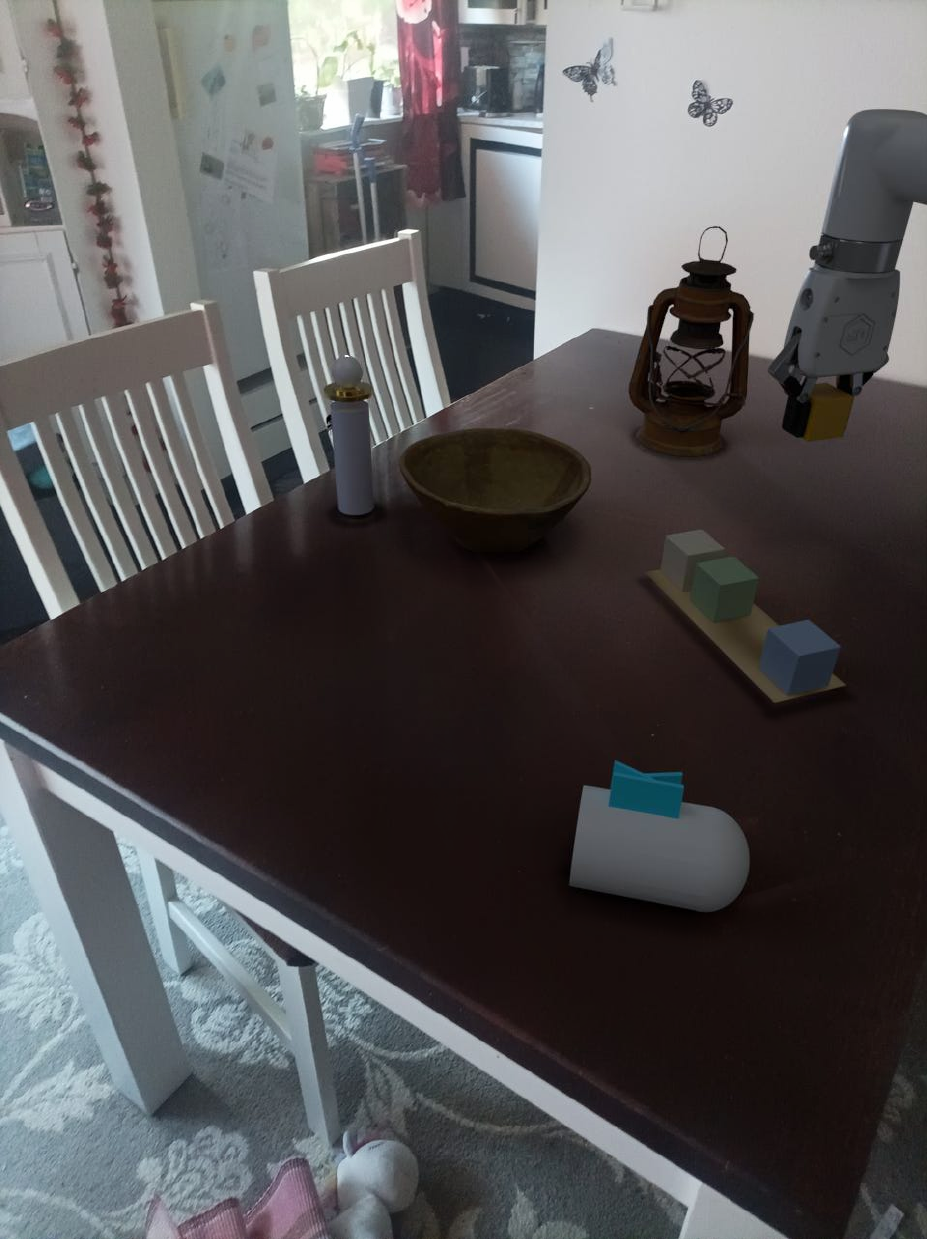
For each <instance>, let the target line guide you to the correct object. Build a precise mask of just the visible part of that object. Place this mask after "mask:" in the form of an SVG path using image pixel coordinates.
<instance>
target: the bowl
mask: <svg viewBox="0 0 927 1239" xmlns="http://www.w3.org/2000/svg"><path fill="white" fill-rule="evenodd" d="M398 467H399V472H400V473H401V475H402V477H403V478H404V481H405V482H406V484H407V486H408V487H409V489H410V490H411V492H412V493H413V494H414V496H415V497H416V498H417V500H418V501H419V503H420V504H421V505H422V507H423V508H424V509H425V510H426V511H427V513H428V514H429V515H430V516H431V517H432V518H433V520H434V521H435V522H436V524H438V525H439V526H440V527H441V528H442V529H443V530H444V531H445V532H447V533H448V534H449V535H450V536H451V537H452V539H454V540H455V542H457V543H458V544H459V545H460V546H461V547H462V548H464V549H465V550H467V551H470V552H473V553H476V554H481V555H483V553H491V554H492V553H493V554H515V553H520V552H522V551H525V550H527V549H528V548H529V547H531V546H533V545H534V544H536V543H537V542H538V541H539V540H540V539H541V538H543V537H544V536H545V535H547V534H548V533H549V532H551V531H552V530H554V528H556V527H557V525H558V524H559V523H560V522H561V521H562V520H563V519H565V517H566V516H568V514H569V513H571V511H572V510H573V509H574V508H575V506H576V505H577V504H578V503H579V502H580V501H581V499H582V498H583V497H584V495H585V494H586V493H587V491H588V490H589V488H590V485H591V482H592V468H591V465H590V463H589V462H588V461H587V459H586V458H585V456H584V455H583V454H582V453H581V452H580V451H578V450H577V449H575V448H574V447H573V446H571V445H569V444H567V443H565V442H562V441H560V440H557V439H554V438H552V437H549V436H546V435H544V434H542V433H539V432H535V431H532V430H524V429H518V428H488V427H485V428H484V427H483V428H482V427H481V428H480V427H478V428H467V429H460V430H454V431H452V432H451V431H450V432H445V433H444V432H443V433H440V434H439V433H438V434H435V435H431V436H428V437H426V438H422V439H419V440H417V441H416V442H414V443H412V444H411V445H409V446H408V447H407V448H406V449H404V451H403V452H402V453H401V455H400V456H399V459H398ZM482 552H483V553H482Z"/></svg>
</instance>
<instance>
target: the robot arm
mask: <svg viewBox="0 0 927 1239" xmlns="http://www.w3.org/2000/svg"><path fill="white" fill-rule="evenodd" d="M843 131H844V132H843V134H842V138H841V142H840V147H839V152H838V155H837V160H836V165H835V170H834V174H833V179H832V183H831V188H830V192H829V197H828V201H827V204H826V210H825V214H824V217H823V219H824V220H823V222H822V227H821V232H820V236H819V240H818V244H815V245H812V246H811V247H810V249H809V253H808V254H809V259H810V260H811V261H814V262H813V267H808V270H807V272H806V274H805V276H804V279H803V281H802V284H801V286H800V289H799V291H798V295H797V297H796V300H795V303H794V305H793V309H792V311H791V316H790V320H789V323H788V326H787V330H786V333H785V339H784V343H783V348H782V349H781V351H780V352H779V353H778V355H777V356H776V357H775V358H774V360H773V361H772V362H771V363H770V365H769V366H768V367H767V373H768V374H769V375H770V376H771V377H772V378H773V379H774V380H775V381H776V382H777V383H778V384H779V385H780V386H781V388H782V389H783V393H784V394H785V395H786V396H787V399H786V400H787V401H786V405H785V409H784V413H783V417H782V423H781V429H782V430H783V431H785V432H787V433H789V434H790V435H792V436H793V437H795V438H796V439H802V438H801V437H803V436H804V434H805V430H806V426H807V422H808V418H809V414H810V410H811V404H812V403H811V402H809V401H807V400H808V399H809V396H810V394H811V392H812V390H813V388H814V385H815V384H817V381H818V378H819V379H820V378H828V377H829V378H830V377H836V378H835V387H836V388H838V389H840V390H842V391H844V392H846V393H848V394H850V395H852V396H854V398H853V402H852V406H851V409H850V413H849V417H848V420H847V424H846V428H845V431H846V429H847V425H848V421H849V418H850V414H851V411H852V408H853V404H854V401H855V397H858V396H860V394H861V393H862V391H863V387H864V386H865V385H866V384H867V383H868V382H869V381H870V380H871V379H872V378H873V376H875V375H874V374H876V373H877V372H879V371H880V370H881V369H882V368H884V366H886V365H887V364H888V363H889V361H890V356H889V353H888V352H889V348H890V344H891V341H892V336H893V332H894V327H895V323H896V318H897V317H896V316H897V313H898V312H897V311H898V306H899V298H900V288H901V271H900V270H899V269H896V267H897V264H898V260H899V256H900V253H901V250H902V246H903V242H904V238H905V235H906V231H907V227H908V224H909V220H910V216H911V213H912V209H913V205H914V203H918V204H921V205H925V206H927V113H924V112H922V111H916V110H910V109H894V108H893V109H892V108H871V109H864V110H861V111H857V112H856V113H854V114H853V115H852V116H851V117H850V118H849V119H848V121H847V123H846V125H845V127H844V130H843ZM791 367H793V368H792V370H791V372H790V368H791ZM803 376H804V379H803ZM802 379H803V380H802ZM801 381H802V383H801Z"/></svg>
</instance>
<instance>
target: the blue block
mask: <svg viewBox="0 0 927 1239" xmlns="http://www.w3.org/2000/svg"><path fill="white" fill-rule="evenodd" d="M841 648H842V646H841V645H840V644H839V643H837V642H836V641H835V640H834V639H833V638H831V636H829V635H828V634H827V633H825V632H824V631H823V630H822V629H821V628H820V627H818V626H817V625H816V624H815V623H813V621H811V620H810V619H805V620H800V621H795V622H791V623H786V624H782V625H779V626H777V627H772V628H768V631H767V635H766V639H765V643H764V646H763V650H762V654H761V658H760V662H759V666H758V667H759V668H760V669H761V670H762V671H763V672H764V673H765V674H766V675H767V676H768V677H769V678H770V679H771V680H772V681H773V682H774V683H775V684H776V685H777V686H778V687H779V688H780V689H781V690H782V691H783V692H784V693H785V694H786V695H787V696H789V695H793V694H797V693H801V692H805V691H809V690H813V689H818V688H822V687H826V686H828V685H829V682H830V679H831V676H832V673H833V674H834V670H835V666H836V664H837V661H838V658H839V654H840V651H841Z"/></svg>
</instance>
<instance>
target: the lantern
mask: <svg viewBox="0 0 927 1239" xmlns="http://www.w3.org/2000/svg"><path fill="white" fill-rule="evenodd" d="M710 229H719V230H720V231H722V232H723V233H724V234H725V235H724V236H725V245H724V249H723V251H722V253H721V257H720V258H719V259H718V260H717V259H715V260H714V259H704V258H703V257H702V256H701V253H700V252H701V244H702V239H703V236H704V235H705V232H707V231H709V230H710ZM728 238H729V237H728V233H727V230H725V229H724V228H722V227H721V226H720V225H719V226H718V225H714V226H708V227H707V228H705V229H704V230H703V232H702V234H701V236H700V237H699V245H698V250H697V251H698V252H697V256H698V260H692V261H689V262H685V263H683V264H682V265H681V268H682V270H683V271H684V272H686V273H687V274H689V275H688V276H684V277H682V278H680V279H679V284H678V286H676V287H668V288H664V289H663V290H662V291H660V292H659V293H657V295H656V296H655V298H654V300H653V302H652V304H650V305H649V306H648V307H647V312H646V314H647V315H646V325H645V330H644V332H643V336H642V340H641V342H640V345H639V348H638V353H637V356H636V359H635V364H634V368H633V371H632V374H631V378H630V380H629V384H628V395H629V400H630V401H631V403H632V405H633V406H634V407H635V408H636V409H638V410H639V411H640V412H641V413H643V421H642V425H641V426H640V427H639V428H638V429H637V430H636V433H635V437H636V440H637V441H638V443H639V444H640V445H642V446H644V447H645V448H647V449H649V450H652V451H653V452H655V453H661V454H664V455H668V456H669V455H670V456H677V457H687V458H689V457H700V456H701V457H702V456H709V455H710V454H711V455H712V454H715V453H717V452H719V451H720V450H721V449H722V448H723V446H724V441H723V437H722V435H721V428H722V423H723V420H726V419H728V418H731V417H733V416H735V415H736V414H737V413H739V412H740V411H741V410H742V408H743V406H746V399H747V396H748V382H749V379H748V378H749V360H750V359H749V358H750V335H751V329H752V327H753V323H754V319H755V313H754V312H753V311H751V305H750V303H749V300H748V299H747V298H746V296H745V294H743V293H740V292H737V291H733V290H732V283H731V282H730V281H728V280H727V277H728V276H731V275H734V274H737V270H738V269H737V268H736V267H735V266H733V265H731V264H729V263H726V262H722V260H723V259H724V256H725V252H726V250H727V246H728V242H729V239H728ZM730 310H732V314H731V312H730ZM668 312H669V314H670V315H671V316H672V317H674V318H677V319H678V325H677V328H676V330H674V331H673V332H672V333H671V335H670V337H669V341H670V342H671V343H672V344H673V345H676V346H678V347H682V348H686V349H687V348H688V349H694V350H701V351H698V352H697V353H695V354H691V353H690V352H687V351H686V350H683V349H680V348H678V347H676V346H671V345H666V346H664V348H663V349H662V352H663V354H661V353H660V352H658V351H657V348H658V345H659V342H660V338H661V335H662V330H663V327H664V323H665V321H666V316H667V314H668ZM731 318H732V324H731V325H732V326H731V327H732V328H731V357H730V359H731V361H730V370H729V374H728V379H727V383H726V388H725V390H724V394H722V396H721V397H720V398H719V400H718V401H717V402H716V403H715V402H706V401H707V400H709V399H711V398H713V397H715V395H716V390H715V388H714V387H715V384H714V383H713V380H712V378H711V377H708V380H709V384H710V385H707V384H705V383H703V382H702V381H701V380H700V379H697V377H699V376H701V374H703V373H705V374H706V375H707V374H708V375H707V376H709V371H711V370H712V369H713V368H715V367H717V366H718V365H720V364H722V362H723V361H724V359H725V357H726V353H727V351H726V350H725V349H724V348H723V347H722V346H723V345H724V337H723V334H721V333H720V331H721V323H724V322H728V321H729V320H730V319H731ZM666 351H673V352H679V353H680V354H682V355H685V356H686V357H687V359H686V360H685V361H684V362H682V363H681V364H680V365H679V366H677V363H675V362H674V360H673V359H672V358H671V357H670V356H669V355H668V353H667V352H666ZM706 354H712V355H716V354H717V355H720V354H722V355H721V357H720V358H719V360H717V361H716V362H714V363H712V364H708V365H706V366H705V365H704V364H703V362H702V361H701V360H699V359H698V357H700V356H702V355H706ZM663 355H664V356H665V358H666V359H667V360H668V361H669V362H670V363H671V364H672V365H673V366H674V367H675V368H676V369H674V370H673V372H672V373H671V374H670V375H669V377H668V378H667V379H666V382H665V383H664V382H663V378H662V377H663V375H662V370H661V366H662V365H661V364H662V362H661V361H662V357H663ZM691 360H694V361H695V362H696V364H698V365H699V367H700V368H701V369H699V370H697V371H696V372H695V373H693V374H690V373H688V372H687V371H686V370H685V369H684V368H683V367H684V366H685V365H686V364H688V362H690V361H691ZM655 363H656V366H655ZM678 370H679V372H681V373H682V374H683V375H684V376H685V378H687V379H688V380H687V379H686V380H671V381H670V379H671V378H672V377H673V376H674V374H676V372H677V371H678ZM691 379H693V380H694V381H692V380H691ZM690 380H691V381H690ZM658 384H659V385H658ZM662 391H663V392H664V393H665V394H666V395H667V396H666V395H664V394H662V393H663V392H662ZM726 397H728V398H727V400H726ZM659 400H660V401H659ZM661 400H662V401H661Z"/></svg>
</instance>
